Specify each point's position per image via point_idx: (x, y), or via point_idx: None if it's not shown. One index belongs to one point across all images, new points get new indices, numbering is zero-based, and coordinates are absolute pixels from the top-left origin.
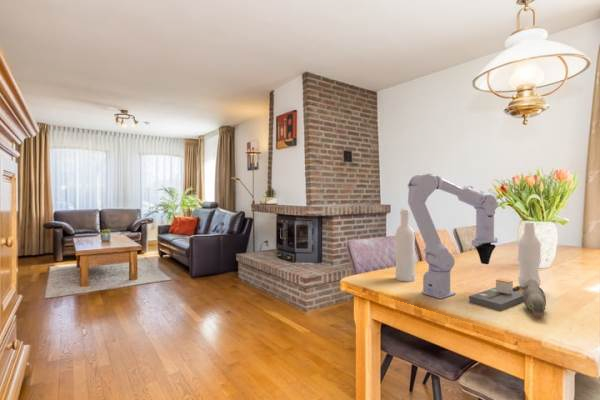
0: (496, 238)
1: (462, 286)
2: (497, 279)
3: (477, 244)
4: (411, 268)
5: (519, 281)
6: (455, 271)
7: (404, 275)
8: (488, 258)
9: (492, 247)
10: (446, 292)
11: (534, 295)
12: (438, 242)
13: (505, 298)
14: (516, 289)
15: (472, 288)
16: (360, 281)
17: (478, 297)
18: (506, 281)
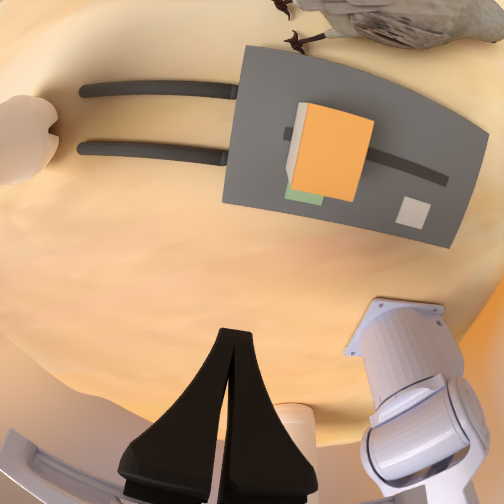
0: (12, 473)
1: (237, 314)
2: (337, 196)
3: (423, 498)
4: (301, 437)
5: (45, 162)
6: (83, 358)
7: (314, 423)
8: (241, 367)
9: (212, 467)
10: (417, 315)
11: (502, 21)
12: (466, 488)
13: (413, 121)
14: (109, 142)
15: (236, 283)
16: None
17: (453, 218)
18: (357, 135)
